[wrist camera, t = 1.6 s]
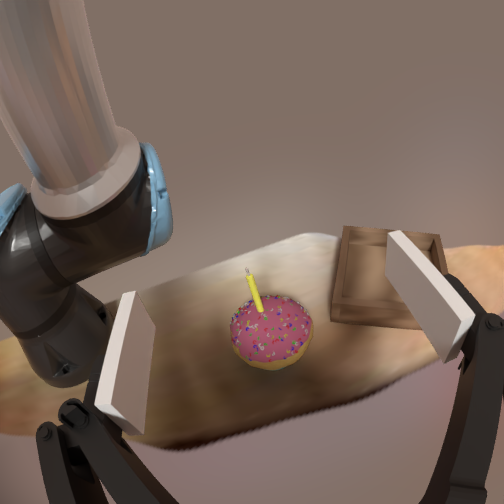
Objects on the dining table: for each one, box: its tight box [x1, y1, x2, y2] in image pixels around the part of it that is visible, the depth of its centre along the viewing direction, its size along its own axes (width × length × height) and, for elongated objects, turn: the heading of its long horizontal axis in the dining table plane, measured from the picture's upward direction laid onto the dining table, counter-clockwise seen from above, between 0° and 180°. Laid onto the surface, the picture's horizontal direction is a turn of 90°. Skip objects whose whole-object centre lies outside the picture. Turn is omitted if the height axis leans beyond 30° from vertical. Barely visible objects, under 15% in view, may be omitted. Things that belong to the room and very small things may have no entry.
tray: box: [331, 226, 448, 330], centre depth 38 cm, size 15×15×4 cm
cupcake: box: [230, 268, 313, 371], centre depth 30 cm, size 9×8×12 cm
